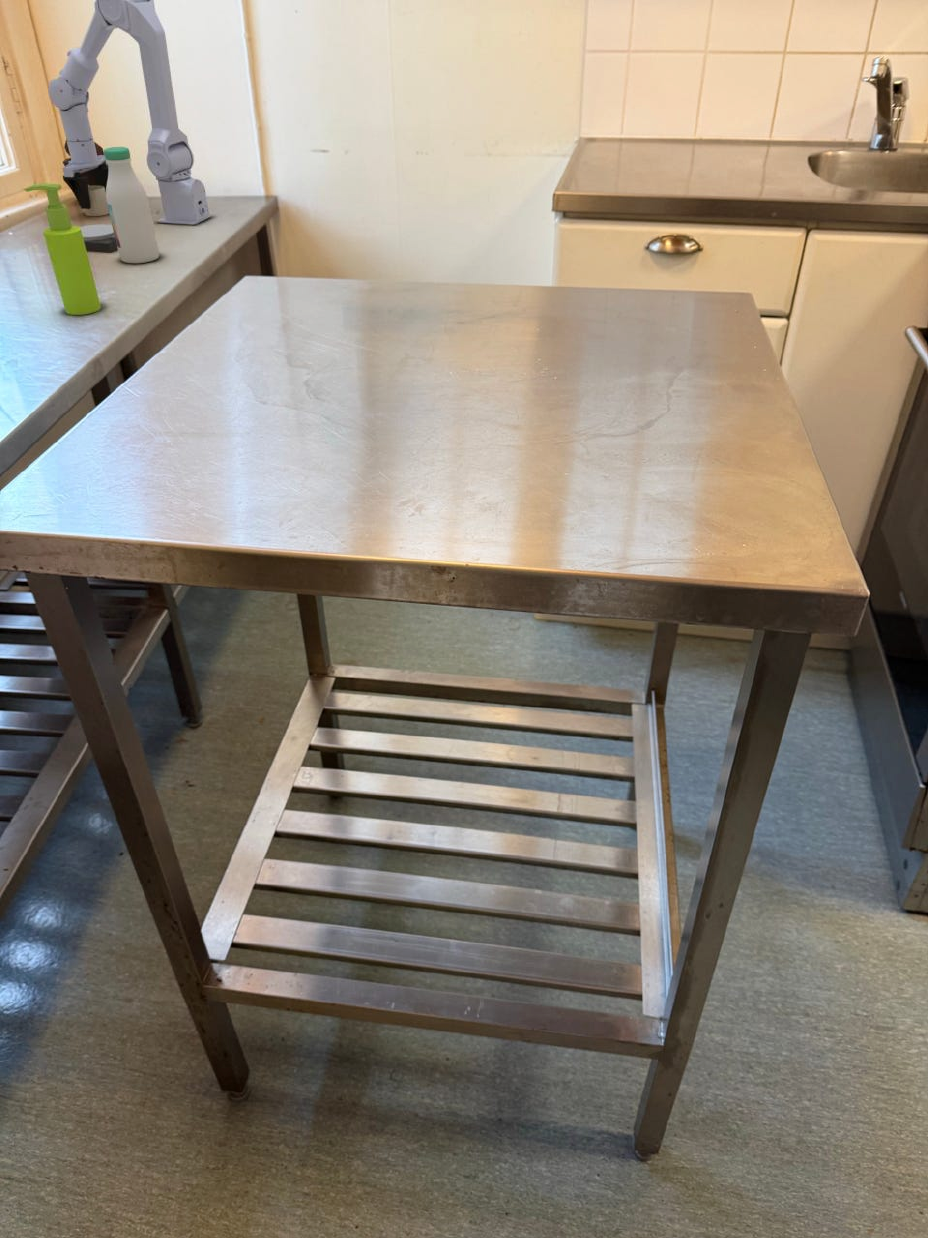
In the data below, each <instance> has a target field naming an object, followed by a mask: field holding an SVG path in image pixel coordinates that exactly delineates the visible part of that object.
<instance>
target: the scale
mask: <svg viewBox="0 0 928 1238" xmlns="http://www.w3.org/2000/svg"><path fill="white" fill-rule="evenodd" d="M79 227H80V228H81V231H82V235H83V239H84V243H85V247H86V251H87V252H96V253H98V252H99V253H110V254H111V253H113V252H116V251H118V248H117V244H116V240H115V235H114V231H113V227H112V224H92V225H89V224H88V225H83V226H79Z"/></svg>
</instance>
